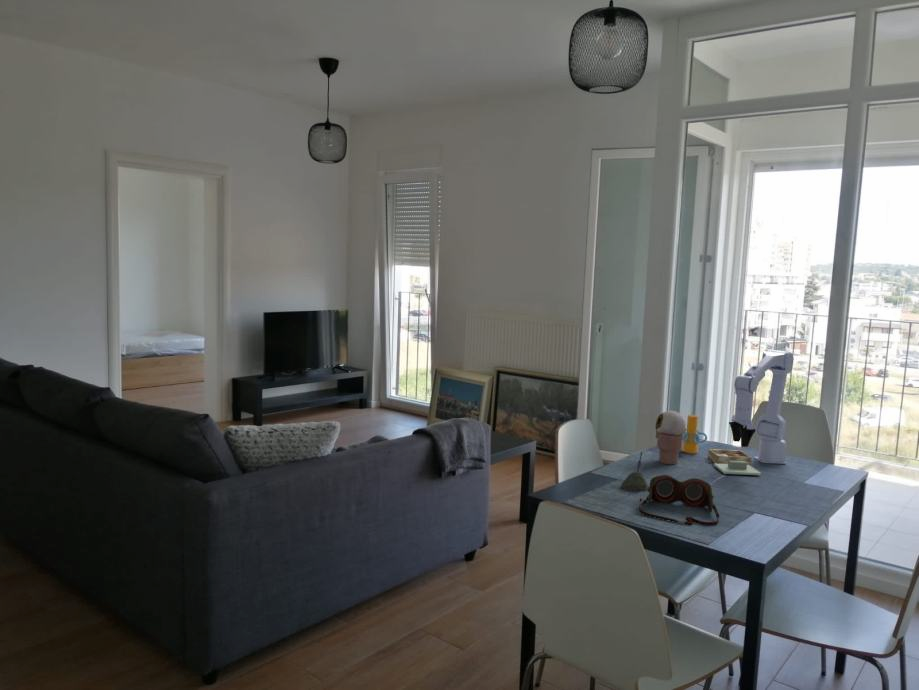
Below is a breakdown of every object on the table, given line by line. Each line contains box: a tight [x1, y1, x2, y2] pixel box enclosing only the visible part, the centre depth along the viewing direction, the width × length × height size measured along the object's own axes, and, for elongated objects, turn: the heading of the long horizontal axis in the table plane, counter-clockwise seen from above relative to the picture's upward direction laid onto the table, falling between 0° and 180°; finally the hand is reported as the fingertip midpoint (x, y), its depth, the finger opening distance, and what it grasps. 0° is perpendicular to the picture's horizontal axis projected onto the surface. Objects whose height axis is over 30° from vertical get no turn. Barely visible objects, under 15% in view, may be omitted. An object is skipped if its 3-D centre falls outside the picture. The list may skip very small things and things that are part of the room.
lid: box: [713, 460, 762, 476], centre depth 264 cm, size 13×10×4 cm
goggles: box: [637, 474, 720, 526], centre depth 218 cm, size 24×24×10 cm
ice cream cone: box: [655, 410, 687, 465], centre depth 272 cm, size 11×11×20 cm
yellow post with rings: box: [681, 414, 708, 454], centre depth 289 cm, size 12×10×15 cm
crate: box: [707, 448, 752, 466], centre depth 277 cm, size 13×10×4 cm
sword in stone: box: [619, 451, 649, 493], centre depth 238 cm, size 10×8×12 cm
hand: (740, 443), depth 264 cm, fingers open, 7 cm apart
